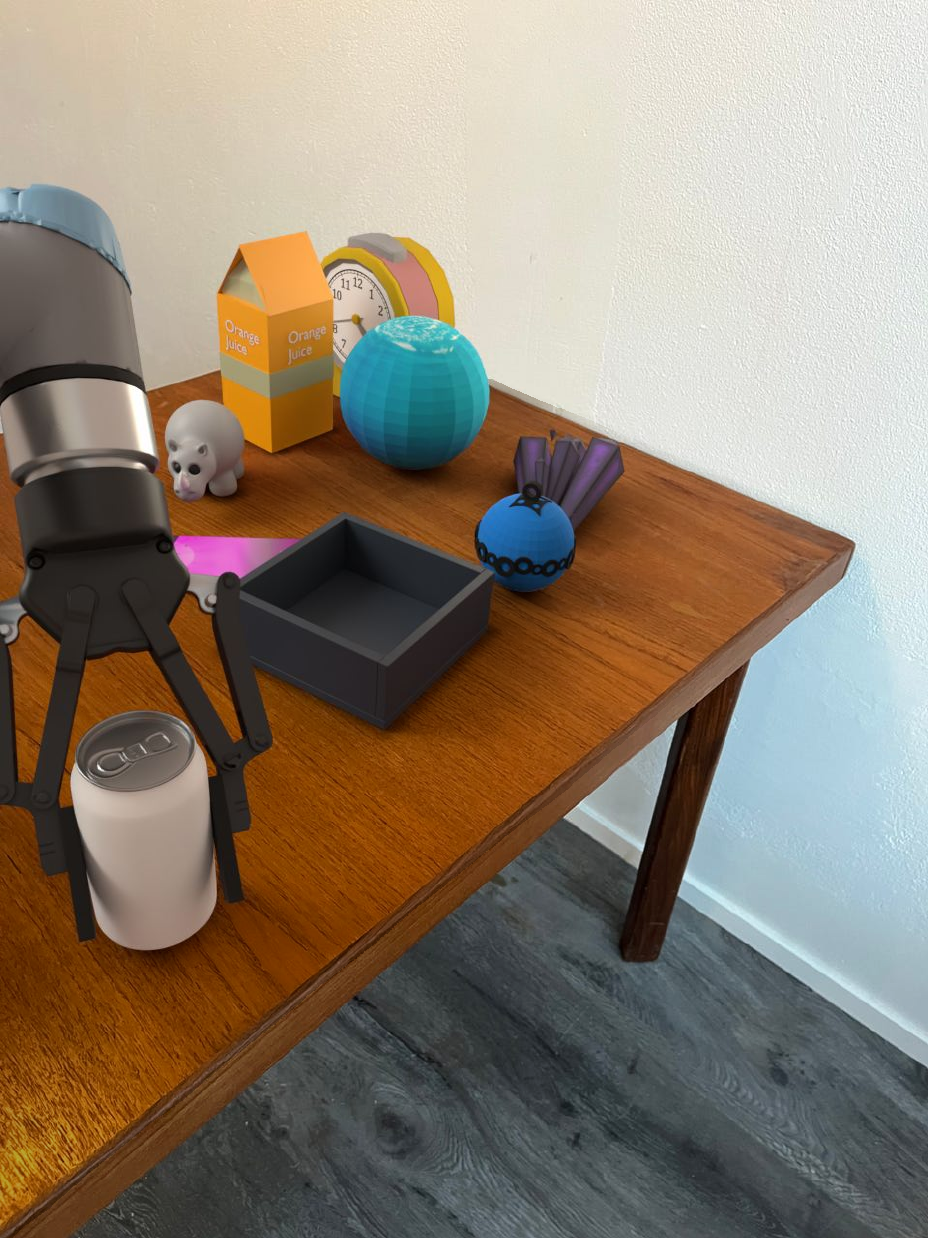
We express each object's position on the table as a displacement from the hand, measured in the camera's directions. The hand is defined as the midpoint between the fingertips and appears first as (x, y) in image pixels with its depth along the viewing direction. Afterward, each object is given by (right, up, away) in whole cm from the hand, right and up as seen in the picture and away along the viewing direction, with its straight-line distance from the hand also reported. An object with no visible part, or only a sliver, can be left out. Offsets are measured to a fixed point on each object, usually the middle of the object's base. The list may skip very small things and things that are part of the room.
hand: (162, 917), depth 50 cm
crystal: (+25, +27, +49) cm, 61 cm away
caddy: (+7, +13, +27) cm, 31 cm away
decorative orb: (+10, +32, +52) cm, 62 cm away
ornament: (+20, +18, +36) cm, 45 cm away
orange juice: (-5, +36, +56) cm, 66 cm away
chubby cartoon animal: (-10, +27, +43) cm, 51 cm away
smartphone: (-6, +20, +34) cm, 39 cm away
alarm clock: (+5, +41, +65) cm, 77 cm away
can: (-2, -1, +5) cm, 5 cm away
